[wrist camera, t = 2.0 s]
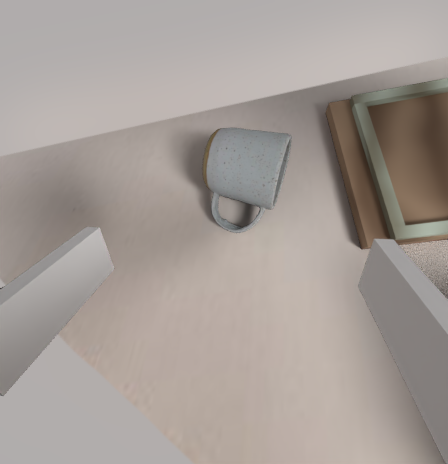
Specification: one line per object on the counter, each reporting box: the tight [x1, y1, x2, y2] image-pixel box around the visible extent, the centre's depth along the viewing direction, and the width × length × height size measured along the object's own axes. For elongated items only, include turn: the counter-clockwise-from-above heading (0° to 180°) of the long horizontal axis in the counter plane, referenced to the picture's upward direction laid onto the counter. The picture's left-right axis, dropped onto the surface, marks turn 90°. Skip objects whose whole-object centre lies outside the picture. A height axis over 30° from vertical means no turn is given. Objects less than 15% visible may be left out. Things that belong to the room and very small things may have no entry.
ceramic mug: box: [202, 128, 292, 233], centre depth 25 cm, size 11×8×8 cm
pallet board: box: [326, 78, 448, 249], centre depth 25 cm, size 20×18×2 cm
